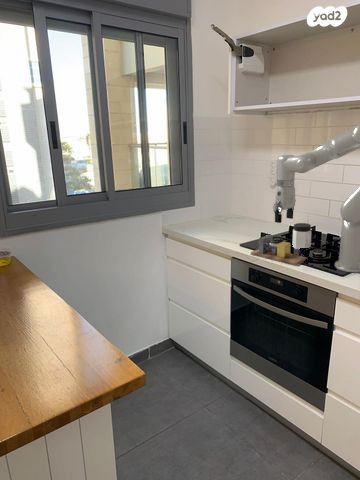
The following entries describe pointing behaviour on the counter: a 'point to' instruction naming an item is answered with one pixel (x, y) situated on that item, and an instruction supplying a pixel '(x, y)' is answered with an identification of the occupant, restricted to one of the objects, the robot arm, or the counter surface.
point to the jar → (301, 235)
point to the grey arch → (262, 244)
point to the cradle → (274, 251)
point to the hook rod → (281, 248)
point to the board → (281, 258)
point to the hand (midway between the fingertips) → (283, 220)
